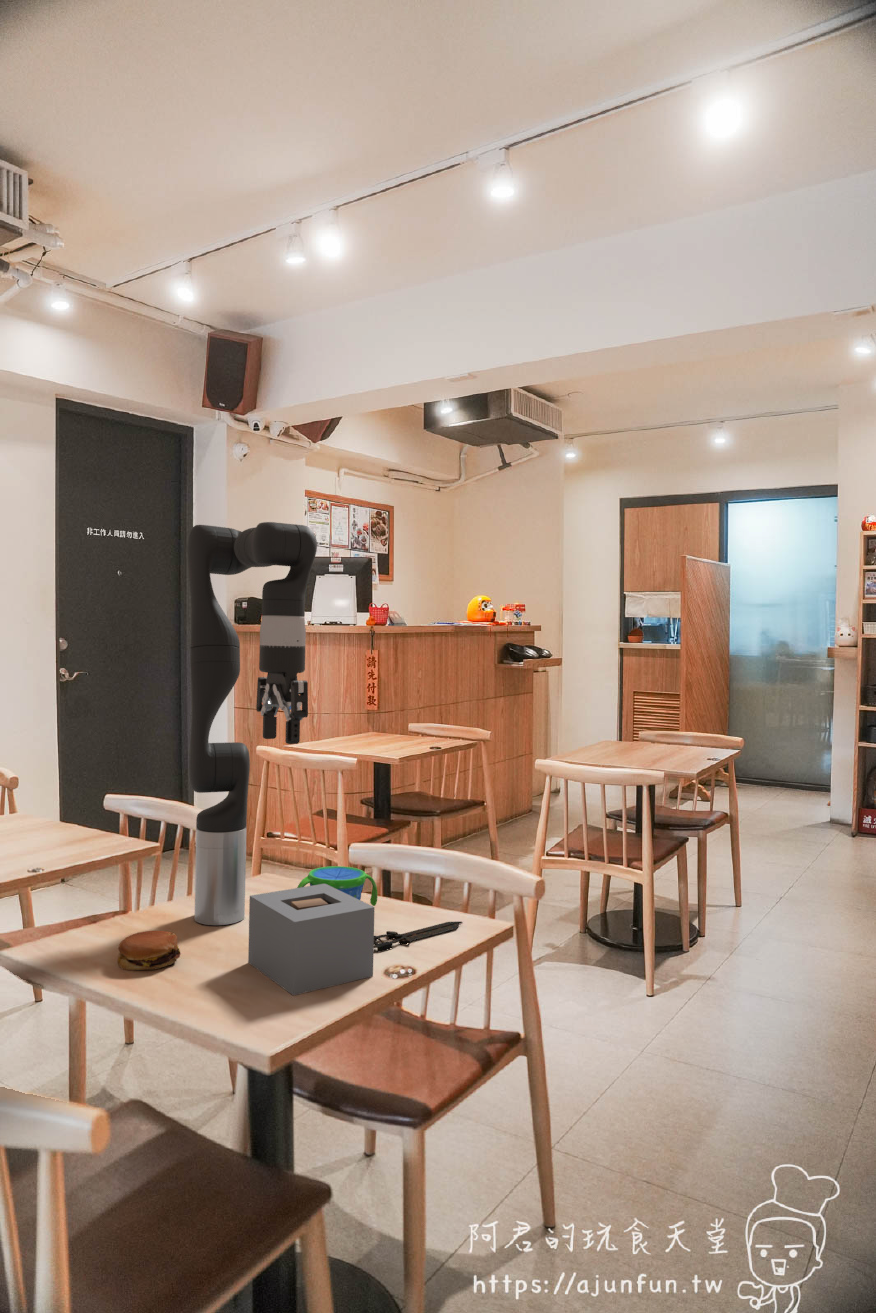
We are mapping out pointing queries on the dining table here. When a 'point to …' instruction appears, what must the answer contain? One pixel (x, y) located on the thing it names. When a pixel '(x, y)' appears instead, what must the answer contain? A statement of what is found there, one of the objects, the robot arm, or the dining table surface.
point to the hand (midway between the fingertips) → (280, 741)
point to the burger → (148, 950)
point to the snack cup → (341, 880)
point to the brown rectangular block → (308, 903)
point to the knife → (412, 935)
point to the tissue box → (311, 938)
